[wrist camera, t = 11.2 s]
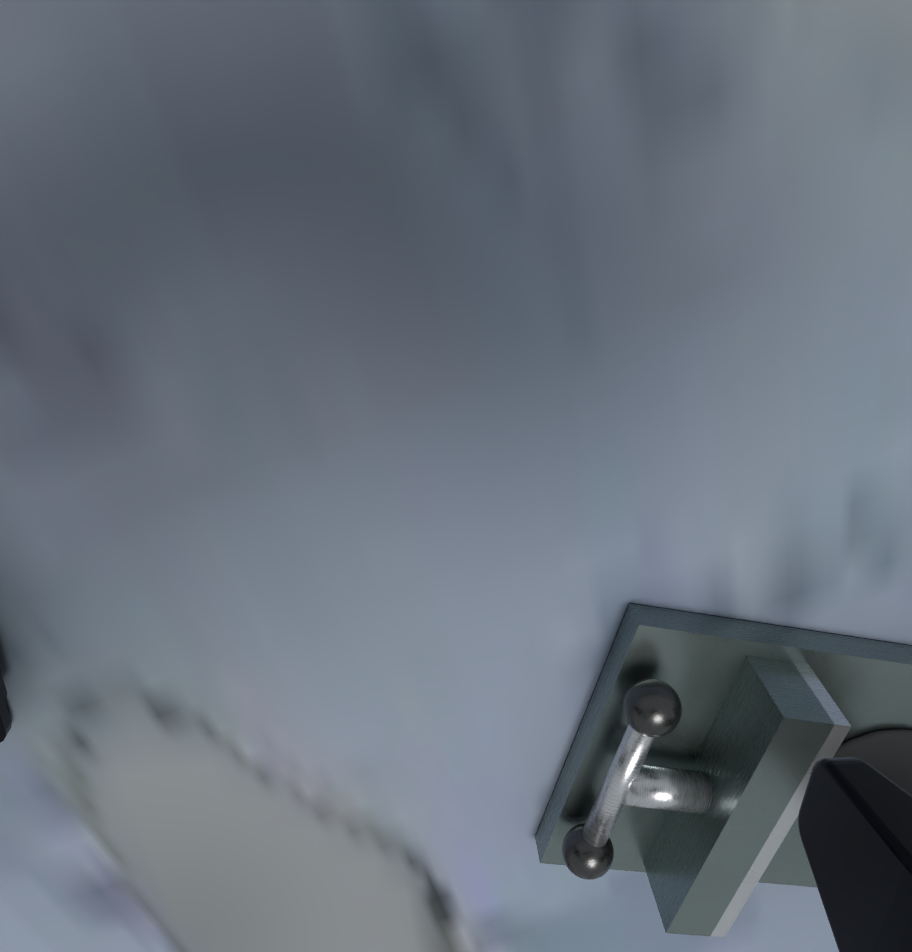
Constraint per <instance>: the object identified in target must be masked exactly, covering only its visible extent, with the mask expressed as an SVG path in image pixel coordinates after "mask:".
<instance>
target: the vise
mask: <svg viewBox="0 0 912 952" xmlns="http://www.w3.org/2000/svg"><path fill="white" fill-rule="evenodd" d="M881 730H911V731H912V646H909V645H903V644H896V643H889V642H883V641H876V640H869V639H863V638H856V637H849V636H843V635H836V634H830V633H823V632H816V631H810V630H803V629H796V628H790V627H783V626H776V625H770V624H763V623H757V622H750V621H743V620H737V619H730V618H723V617H717V616H710V615H703V614H697V613H690V612H684V611H677V610H670V609H664V608H657V607H650V606H644V605H637V604H631V603H629V606H628V608H627V611H626V613H625V616H624V618H623V621H622V623H621V626H620V628H619V631H618V633H617V636H616V638H615V641H614V643H613V646H612V648H611V650H610V653H609V655H608V658H607V660H606V663H605V665H604V668H603V670H602V673H601V675H600V678H599V680H598V683H597V685H596V688H595V690H594V693H593V695H592V698H591V700H590V703H589V705H588V707H587V710H586V712H585V715H584V717H583V720H582V722H581V725H580V727H579V730H578V732H577V735H576V737H575V740H574V742H573V745H572V747H571V750H570V752H569V755H568V757H567V760H566V762H565V765H564V767H563V769H562V772H561V774H560V777H559V779H558V782H557V784H556V787H555V789H554V792H553V794H552V797H551V799H550V802H549V804H548V807H547V809H546V812H545V814H544V817H543V819H542V822H541V824H540V826H539V829H538V831H537V834H536V836H535V839H536V844H537V849H538V854H539V859H540V863H546V864H558V865H566V866H567V867H568V869H569V870H570V871H571V872H572V873H573V874H575V875H576V876H578V877H580V878H583V879H589V880H590V879H596V878H599V877H601V876H603V875H604V874H605V873H606V872H607V871H608V870H609V869H615V870H626V871H637V872H647V876H648V879H649V882H650V885H651V888H652V891H653V894H654V897H655V900H656V903H657V907H658V910H659V913H660V916H661V919H662V922H663V925H664V928H665V931H666V933H673V934H687V935H700V936H714V937H725V936H726V934H727V933H728V931H729V930H730V928H731V926H732V925H733V923H734V921H735V920H736V918H737V916H738V915H739V913H740V911H741V910H742V908H743V906H744V905H745V903H746V901H747V900H748V898H749V896H750V895H751V893H752V891H753V890H754V888H755V886H756V885H757V883H758V882H762V883H774V884H785V885H796V886H808V887H817V885H816V882H815V879H814V876H813V873H812V870H811V867H810V864H809V861H808V858H807V855H806V852H805V849H804V846H803V843H802V840H801V837H800V833H799V827H798V814H799V809H800V806H801V803H802V800H803V797H804V794H805V791H806V787H807V784H808V781H809V778H810V775H811V772H812V769H813V766H814V764H815V763H816V762H818V761H819V760H820V759H823V758H833V757H834V755H835V753H836V752H837V750H838V748H839V747H840V745H841V744H843V743H845V742H846V741H848V740H851V739H853V738H856V737H859V736H861V735H865V734H868V733H872V732H875V731H881Z"/></svg>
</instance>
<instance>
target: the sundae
mask: <svg viewBox="0 0 912 952" xmlns="http://www.w3.org/2000/svg"><path fill="white" fill-rule="evenodd" d="M841 757H854V758H858V759H861V760H863V761H864V762H866V763H868V764H869V765H870V766H872V767H873V768H875V769H876V770H877V771H879V772H880V773H881V774H883V775H884V776H885V777H887V778H888V779H890V780H891V781H892V782H894V783H895V784H896V785H898V786H899V787H901V788H902V789H903V790H905V791H906V792H907V793H909V794H910V795H911V796H912V731H911V730H881V731H875V732H872V733H868V734H865V735H861V736H859V737H856V738H853V739H851V740H848V741H846V742H845V743H843V744H841V745H840V747H839V748H838V750H837V752H836V753H835V755H834V757H833V758H841Z"/></svg>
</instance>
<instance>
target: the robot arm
mask: <svg viewBox="0 0 912 952" xmlns="http://www.w3.org/2000/svg"><path fill="white" fill-rule="evenodd" d="M6 695H7V691H6V688H5V684H4V681H3V678H2V674H1V671H0V742H2V741H3V740H4V739H5V737H6V735H7V733H8V732H9V730H10V728H11V719H10V715H9V712H8V709H7V705H6V702H5V697H6ZM798 827H799V833H800V837H801V840H802V843H803V846H804V849H805V852H806V855H807V858H808V861H809V864H810V867H811V870H812V873H813V876H814V879H815V882H816V885H817V887H818V890H819V893H820V896H821V899H822V902H823V905H824V908H825V911H826V914H827V917H828V920H829V923H830V926H831V929H832V932H833V935H834V938H835V941H836V943H837V946H838V949H839V952H912V796H911V795H910V794H909V793H907V792H906V791H905V790H903V789H902V788H901V787H899V786H898V785H896V784H895V783H894V782H892V781H891V780H890V779H888V778H887V777H885V776H884V775H883V774H881V773H880V772H879V771H877V770H876V769H875V768H873V767H872V766H870V765H869V764H868V763H866V762H864V761H863V760H861V759H858V758H854V757H841V758H823V759H820V760H819V761H818V762H816V763H815V764H814V766H813V769H812V772H811V775H810V778H809V781H808V784H807V787H806V791H805V794H804V797H803V800H802V803H801V806H800V809H799V814H798Z"/></svg>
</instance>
